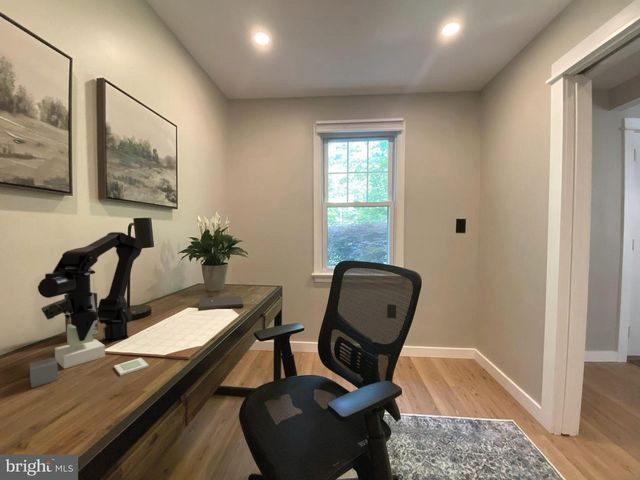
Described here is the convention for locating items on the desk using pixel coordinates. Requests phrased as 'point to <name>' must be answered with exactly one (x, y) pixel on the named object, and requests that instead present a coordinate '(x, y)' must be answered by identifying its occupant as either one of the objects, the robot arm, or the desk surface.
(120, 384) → the desk surface
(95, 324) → the coffee box
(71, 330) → the sage cube
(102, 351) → the plinth
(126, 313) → the robot arm
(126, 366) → the card
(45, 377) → the slate cube
